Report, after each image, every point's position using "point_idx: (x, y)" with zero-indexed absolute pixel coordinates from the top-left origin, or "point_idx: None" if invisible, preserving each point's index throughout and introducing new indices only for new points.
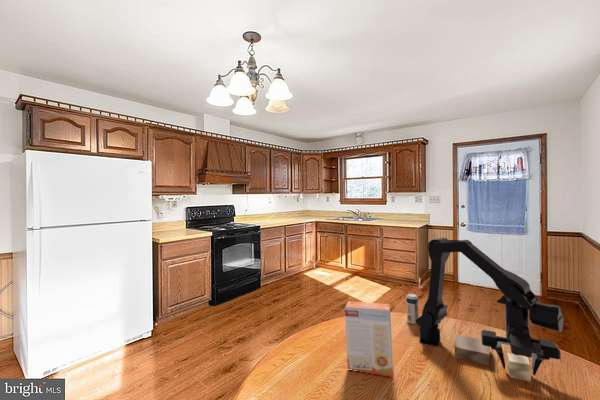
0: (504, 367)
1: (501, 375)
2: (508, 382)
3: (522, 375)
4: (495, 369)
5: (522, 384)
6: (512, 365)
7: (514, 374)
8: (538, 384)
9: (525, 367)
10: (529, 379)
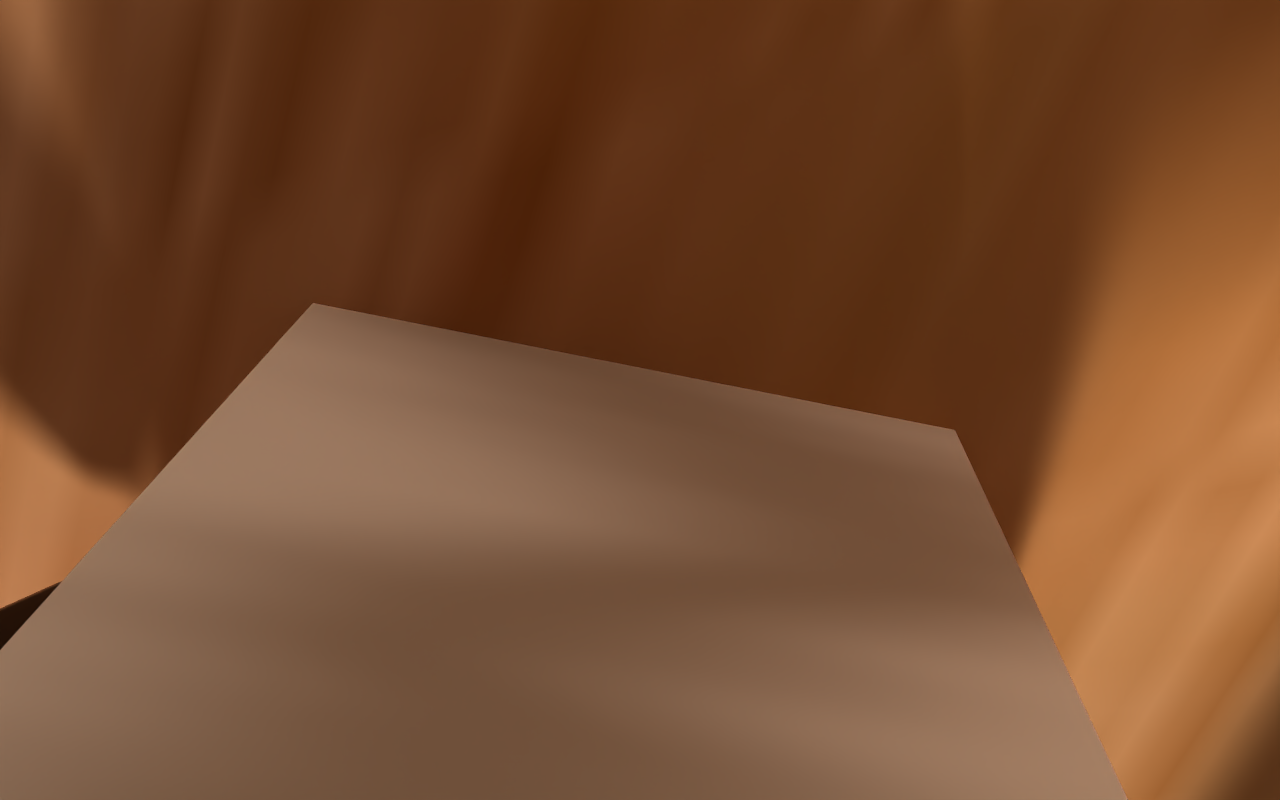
0: None
1: (1223, 465)
2: (1212, 26)
3: (545, 428)
4: (1231, 762)
5: (684, 25)
6: (973, 759)
7: (826, 472)
8: (93, 194)
9: (296, 673)
10: (331, 337)
